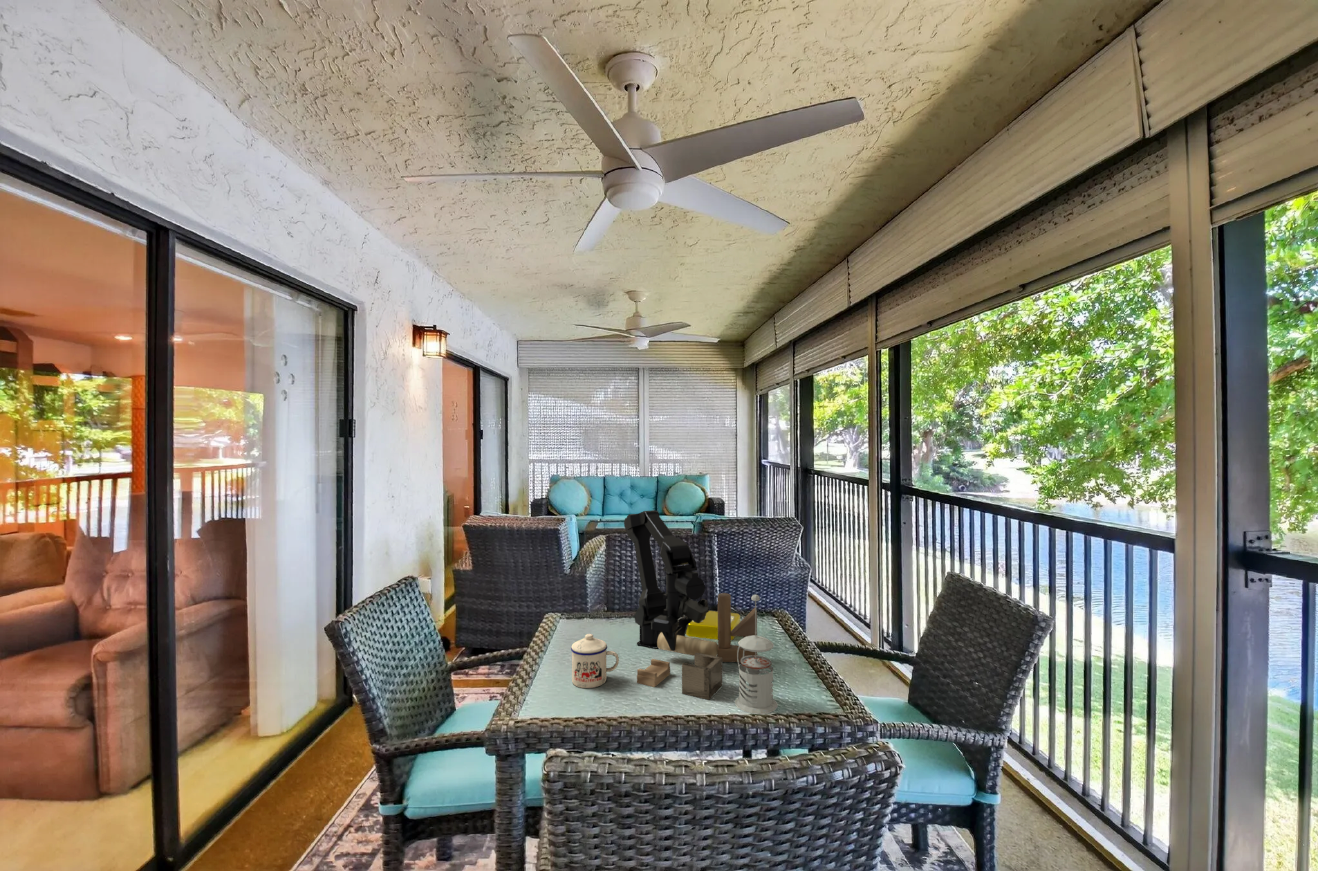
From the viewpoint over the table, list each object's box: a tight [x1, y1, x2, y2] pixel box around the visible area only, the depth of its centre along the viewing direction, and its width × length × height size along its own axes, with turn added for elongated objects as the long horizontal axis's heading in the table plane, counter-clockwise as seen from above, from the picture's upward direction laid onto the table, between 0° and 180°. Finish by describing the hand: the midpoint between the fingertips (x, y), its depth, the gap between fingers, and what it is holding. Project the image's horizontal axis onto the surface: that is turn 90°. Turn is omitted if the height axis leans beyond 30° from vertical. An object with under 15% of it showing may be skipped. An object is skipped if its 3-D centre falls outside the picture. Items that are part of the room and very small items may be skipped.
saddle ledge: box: [636, 658, 671, 688], centre depth 143 cm, size 5×8×3 cm, turn 152°
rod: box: [657, 632, 718, 657], centre depth 151 cm, size 16×4×4 cm, turn 62°
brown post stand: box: [717, 592, 758, 663], centre depth 154 cm, size 4×11×18 cm, turn 86°
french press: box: [734, 594, 779, 715], centre depth 130 cm, size 10×12×25 cm
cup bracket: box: [681, 653, 724, 701], centre depth 136 cm, size 7×8×7 cm
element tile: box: [685, 610, 741, 641], centre depth 178 cm, size 15×15×5 cm
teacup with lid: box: [570, 633, 620, 689], centre depth 142 cm, size 12×9×12 cm
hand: (676, 647), depth 153 cm, fingers closed on rod, 4 cm apart
